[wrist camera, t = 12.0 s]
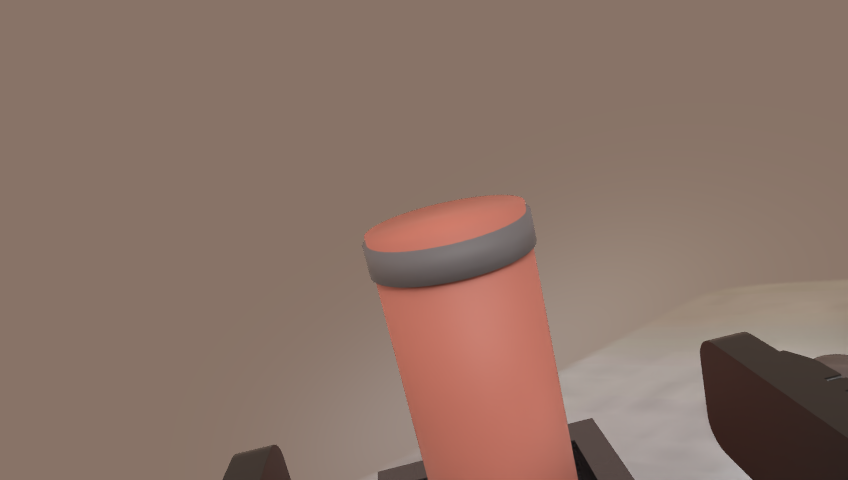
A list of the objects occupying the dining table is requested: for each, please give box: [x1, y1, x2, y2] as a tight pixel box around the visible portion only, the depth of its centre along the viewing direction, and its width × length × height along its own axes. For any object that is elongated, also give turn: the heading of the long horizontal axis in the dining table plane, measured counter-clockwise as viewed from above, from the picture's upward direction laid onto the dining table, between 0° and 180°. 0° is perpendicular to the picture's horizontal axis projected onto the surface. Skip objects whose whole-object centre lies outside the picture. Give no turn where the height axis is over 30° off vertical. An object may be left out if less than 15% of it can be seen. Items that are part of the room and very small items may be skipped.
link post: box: [362, 195, 578, 480], centre depth 15 cm, size 4×4×12 cm
